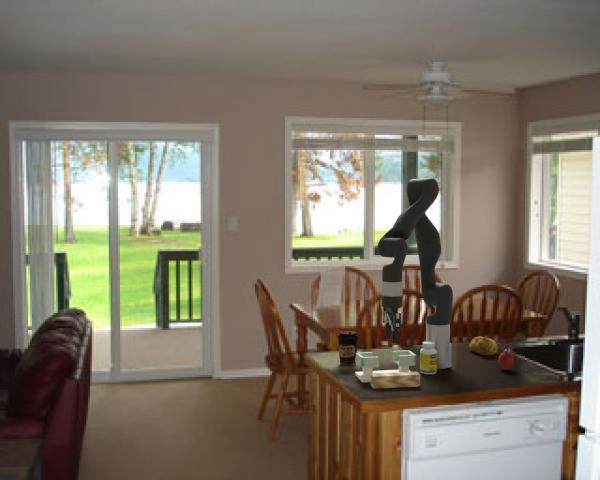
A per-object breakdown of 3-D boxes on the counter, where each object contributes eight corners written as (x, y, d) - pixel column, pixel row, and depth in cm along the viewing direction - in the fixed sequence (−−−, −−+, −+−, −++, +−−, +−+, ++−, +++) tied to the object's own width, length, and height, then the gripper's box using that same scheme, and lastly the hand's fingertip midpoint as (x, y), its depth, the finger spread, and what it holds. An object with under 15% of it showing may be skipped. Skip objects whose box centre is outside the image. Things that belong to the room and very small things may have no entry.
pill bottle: (426, 375, 244) (427, 345, 244) (416, 371, 250) (416, 341, 249) (440, 373, 247) (440, 343, 247) (429, 369, 253) (430, 340, 252)
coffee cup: (357, 367, 256) (357, 334, 256) (336, 366, 258) (336, 334, 257) (359, 361, 265) (359, 330, 264) (339, 360, 267) (339, 329, 266)
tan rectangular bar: (416, 383, 235) (416, 371, 235) (420, 387, 231) (420, 374, 231) (370, 385, 233) (370, 373, 232) (373, 389, 229) (373, 376, 228)
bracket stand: (407, 372, 249) (408, 349, 249) (417, 379, 240) (417, 355, 239) (354, 375, 246) (355, 352, 245) (362, 382, 236) (362, 358, 235)
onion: (514, 368, 254) (514, 348, 253) (512, 372, 249) (513, 351, 248) (499, 367, 256) (499, 347, 256) (497, 370, 251) (497, 350, 250)
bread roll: (464, 350, 284) (464, 332, 283) (482, 348, 288) (482, 330, 287) (483, 357, 272) (484, 338, 271) (502, 355, 276) (502, 336, 275)
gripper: (408, 296, 224) (408, 343, 225) (396, 290, 238) (395, 334, 239) (387, 297, 223) (387, 343, 224) (376, 291, 237) (375, 335, 238)
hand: (391, 338), depth 232 cm, fingers open, 8 cm apart
